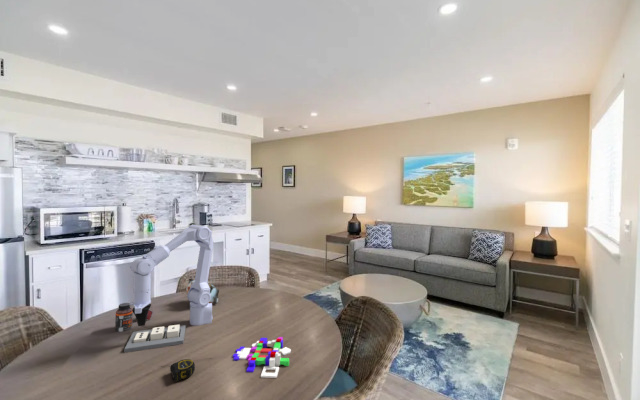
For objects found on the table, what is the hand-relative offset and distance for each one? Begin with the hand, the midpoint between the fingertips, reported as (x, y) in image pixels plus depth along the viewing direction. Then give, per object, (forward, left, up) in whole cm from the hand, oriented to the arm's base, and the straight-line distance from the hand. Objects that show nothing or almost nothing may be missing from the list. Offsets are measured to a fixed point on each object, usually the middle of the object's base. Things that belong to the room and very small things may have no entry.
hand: (141, 325), depth 113 cm
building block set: (-42, +23, -8) cm, 49 cm away
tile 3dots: (0, 0, -7) cm, 7 cm away
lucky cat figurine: (-22, -39, -8) cm, 45 cm away
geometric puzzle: (+3, -25, -8) cm, 26 cm away
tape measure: (-15, +27, -8) cm, 32 cm away
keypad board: (-5, 0, -7) cm, 9 cm away
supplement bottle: (+9, -15, -8) cm, 19 cm away
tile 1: (-5, 0, -6) cm, 8 cm away
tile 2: (-11, 0, -6) cm, 13 cm away
